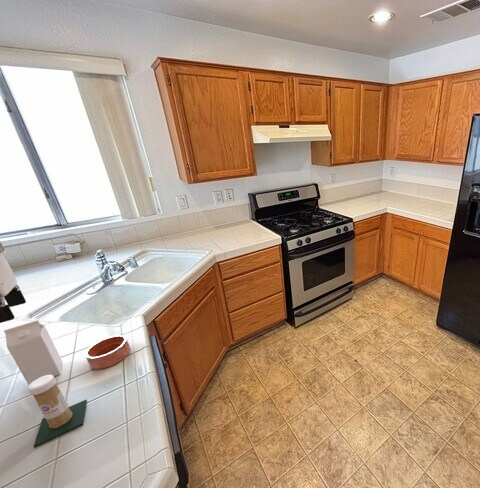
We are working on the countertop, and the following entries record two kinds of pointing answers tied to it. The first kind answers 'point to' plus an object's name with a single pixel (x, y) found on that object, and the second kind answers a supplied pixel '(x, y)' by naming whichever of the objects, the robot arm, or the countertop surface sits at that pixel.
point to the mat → (75, 422)
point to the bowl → (107, 352)
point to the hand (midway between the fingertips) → (12, 312)
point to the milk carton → (33, 351)
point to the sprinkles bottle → (50, 401)
